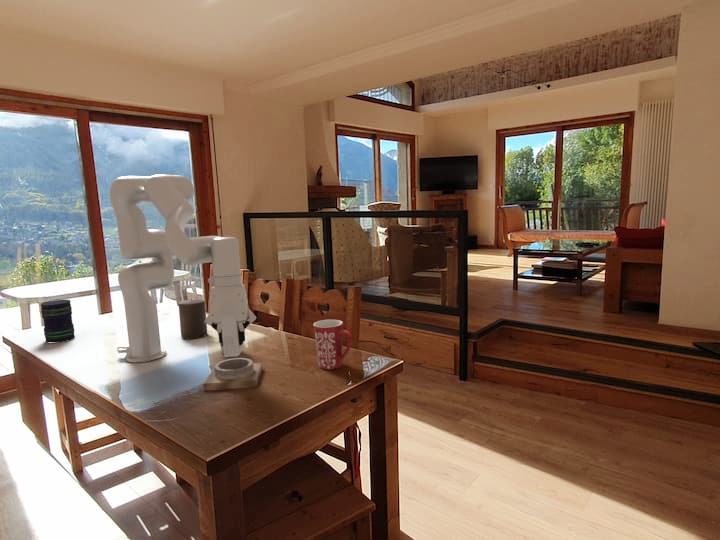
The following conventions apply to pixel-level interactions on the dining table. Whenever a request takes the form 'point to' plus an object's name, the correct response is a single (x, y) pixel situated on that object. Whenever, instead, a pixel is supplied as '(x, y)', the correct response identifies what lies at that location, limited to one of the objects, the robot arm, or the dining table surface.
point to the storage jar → (57, 320)
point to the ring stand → (233, 374)
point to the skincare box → (230, 336)
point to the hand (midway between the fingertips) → (232, 343)
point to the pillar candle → (192, 318)
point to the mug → (330, 343)
